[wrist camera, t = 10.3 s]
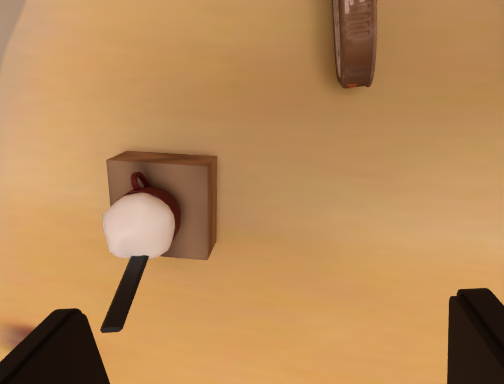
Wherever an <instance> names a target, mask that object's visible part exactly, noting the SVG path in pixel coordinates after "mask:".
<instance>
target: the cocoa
mask: <svg viewBox="0 0 504 384" xmlns="http://www.w3.org/2000/svg"><path fill="white" fill-rule="evenodd" d="M137 178H139V179H140V180H141V182H142V183H143V185H144V188H141V187H140V186H139V184H138V180H137ZM131 184H132V187H133V190H131V191H129V192H127V193H126V194H125V195H123V196H122V197H120V198H119V199H118V200H116V202H115V203H114V204H113V205H112V206H111V207H110V208H109V209H108V210H107V211H105V212H104V213H103V214H102V217H103V231H104V234H105V236H106V239H107V244H108V250H109V252H111V253H112V254H114V255H115V256H116V257H118V258H130V260H129V262H128V265H127V267H126V270H125V272H124V274H123V277H122V279H121V281H120V284H119V286H118V289H117V291H116V293H115V296H114V298H113V300H112V303H111V305H110V308H109V310H108V312H107V315H106V317H105V319H104V322H103V324H102V327H101V329H100V330H101V332H102V333H108V332H119V331H121V330H122V329H123V326H124V323H125V320H126V318H127V315H128V312H129V310H130V307H131V304H132V301H133V299H134V296H135V293H136V290H137V288H138V285H139V282H140V280H141V277H142V274H143V271H144V269H145V266H146V263H147V260H149V259H152V258H156V257H159V256H160V255H162V254H163V253H165V252H166V251H168V249H169V248H170V245H171V244H172V242H173V240H174V238H175V237H176V235H177V233H178V231H179V229H180V224H181V210H180V208H179V206H178V204H177V202H176V199H175V198H174V197H172V196H171V195H170V194H169V193H168V192H167V191H165V190H162V189H159V188H156V187H152V185H151V184H150V182H149V181H148V179H147V178H146V177H145V176H144V175H143V174H142V173H141V172H134V173H132V175H131Z"/></svg>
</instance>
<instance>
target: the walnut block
mask: <svg viewBox="0 0 504 384" xmlns="http://www.w3.org/2000/svg"><path fill="white" fill-rule="evenodd" d="M106 162H107V173H108V184H109V195H110V205H111V206H112V205H113V204H114V203H115V202H116V200H118V199H119V198H120V197H122V196H123V195H125V194H126V193H127V192H129V191H131V190H133V187H132V184H131V175H132V173H134V172H141V173H142V174H143V175H144V176H145V177H146V178H147V179H148V181H149V182H150V184H151V185H152V187H156V188H159V189H162V190H165V191H167V192H168V193H169V194H170V195H171V196H172V197H174V198H175V199H176V202H177V204H178V206H179V208H180V210H181V224H180V229H179V231H178V233H177V235H176V237H175V238H174V240H173V242H172V244H171V245H170V248H169V249H168V251H166V252H165V253H163V254H162V255H160V256H163V257H175V258H187V259H199V260H208V258H209V256H210V254H211V252H212V249H213V247H214V245H215V243H216V210H217V156H202V155H185V154H169V153H152V152H135V151H126V152H124V153H121V154H119V155H117V156H115V157H112V158H110V159H108V160H106ZM137 180H138V184H139V186H140V187H141V188H144V185H143V183H142V182H141V180H140V179H139V178H137Z"/></svg>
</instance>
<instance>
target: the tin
mask: <svg viewBox="0 0 504 384" xmlns="http://www.w3.org/2000/svg"><path fill="white" fill-rule="evenodd" d="M332 4H333V27H334V45H335V61H336V72H337V78H338V81H339V83H340V84H341V86H342V87H343V88H352V87H360V86H366V87H369V86H370V85H371V84H372V80H373V76H374V70H375V60H376V44H377V43H376V41H377V37H376V36H377V7H376V4H377V0H332Z"/></svg>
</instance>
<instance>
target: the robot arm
mask: <svg viewBox="0 0 504 384" xmlns="http://www.w3.org/2000/svg"><path fill="white" fill-rule="evenodd" d="M0 384H110V382H109V379H108V376H107V374H106V371H105V368H104V365H103V362H102V359H101V356H100V354H99V351H98V348H97V345H96V342H95V339H94V336H93V333H92V331H91V328H90V325H89V322H88V319H87V317H86V315H85V314H82V312H81V311H80V310H79V309H76V308H73V309H57V310H55V311H53V312H52V313H51V314H50V315H49V316H48V317H47V318H45V319H44V320H43V321H42V322H41V323H40V324H39V325H38V326H37V327H36V328H35V329H34V330H33V331H32V332H31V333H30V334H29V335H28V336H27V337H26V338H25V339H24V340H23V341H22V342H20V343H19V344H18V345H17V346H16V347H15V348H14V349H13V350H12V351H11V352H10V353H9V354H8V355H7V356H6V357H5V358H4V359H3V360H2V361H1V362H0ZM447 384H504V305H503V304H502V303H501V302H500V301H499V300H498V299H497V297H496V296H495V295H494V294H493V293H492V292H491V291H490V290H489V289H487V288H477V289H460V290H458V292H457V296H451V297H450V299H449V328H448V373H447Z"/></svg>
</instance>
